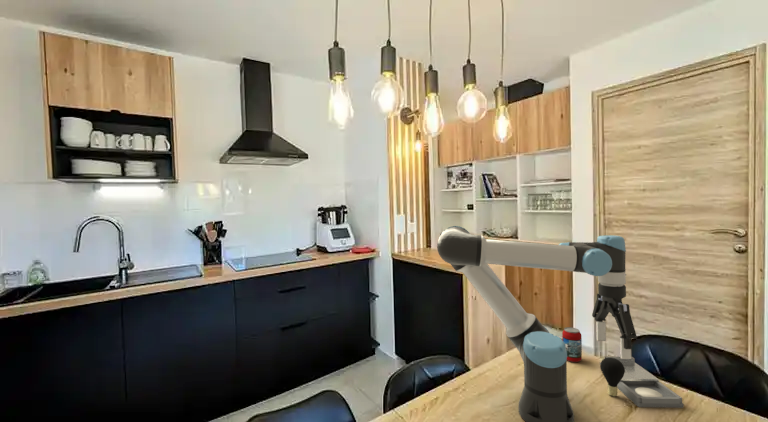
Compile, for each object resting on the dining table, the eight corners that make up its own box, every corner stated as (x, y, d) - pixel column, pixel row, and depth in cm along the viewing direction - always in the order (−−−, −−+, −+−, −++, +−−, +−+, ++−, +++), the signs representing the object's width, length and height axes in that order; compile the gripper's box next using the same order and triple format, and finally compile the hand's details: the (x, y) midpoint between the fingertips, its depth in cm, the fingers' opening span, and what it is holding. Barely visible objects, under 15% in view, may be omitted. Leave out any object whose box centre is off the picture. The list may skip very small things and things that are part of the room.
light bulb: (629, 401, 111) (629, 363, 110) (606, 400, 112) (606, 363, 111) (618, 390, 117) (618, 354, 117) (596, 389, 118) (596, 353, 118)
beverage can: (564, 362, 138) (564, 332, 138) (561, 355, 145) (560, 326, 144) (583, 364, 136) (583, 333, 136) (579, 356, 143) (579, 327, 142)
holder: (638, 407, 108) (638, 398, 108) (604, 377, 126) (604, 369, 126) (683, 407, 107) (683, 398, 107) (642, 377, 125) (642, 369, 125)
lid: (619, 380, 118) (619, 371, 118) (599, 364, 130) (599, 355, 130) (658, 381, 117) (658, 371, 117) (635, 364, 129) (635, 356, 129)
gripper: (650, 293, 101) (651, 367, 101) (602, 275, 126) (603, 334, 126) (623, 294, 101) (624, 367, 102) (580, 275, 126) (581, 334, 127)
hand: (612, 349), depth 114 cm, fingers open, 13 cm apart
